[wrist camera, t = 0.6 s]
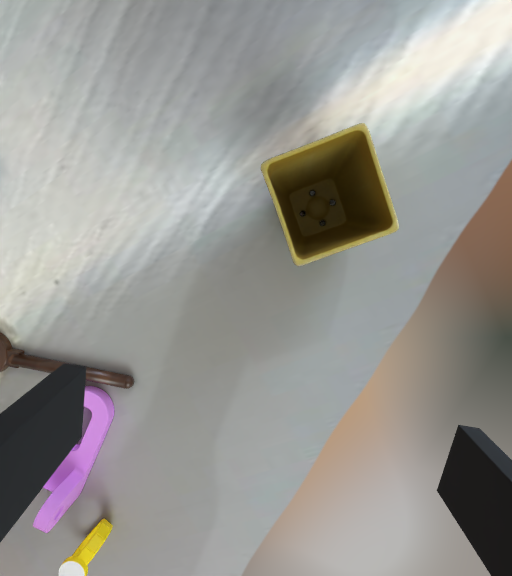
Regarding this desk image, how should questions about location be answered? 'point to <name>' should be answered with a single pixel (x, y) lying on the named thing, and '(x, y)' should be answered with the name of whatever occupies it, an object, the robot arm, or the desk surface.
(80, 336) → the desk surface
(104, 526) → the watch
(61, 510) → the bracket
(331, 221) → the flower pot
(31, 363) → the spoon
